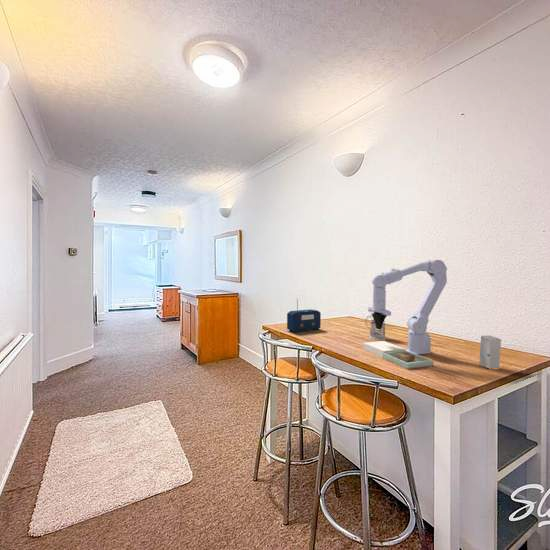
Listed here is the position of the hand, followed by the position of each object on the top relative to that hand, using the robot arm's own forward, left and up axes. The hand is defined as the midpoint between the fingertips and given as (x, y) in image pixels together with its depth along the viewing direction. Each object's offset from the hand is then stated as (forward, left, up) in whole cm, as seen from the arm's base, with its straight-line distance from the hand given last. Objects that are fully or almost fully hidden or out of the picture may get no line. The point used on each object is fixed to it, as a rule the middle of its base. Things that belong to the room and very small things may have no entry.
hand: (378, 328), depth 144 cm
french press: (-15, -22, -11) cm, 29 cm away
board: (0, +4, -10) cm, 11 cm away
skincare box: (-27, +34, -11) cm, 45 cm away
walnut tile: (0, +18, -9) cm, 20 cm away
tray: (0, +19, -10) cm, 21 cm away
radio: (+16, -52, -11) cm, 55 cm away
